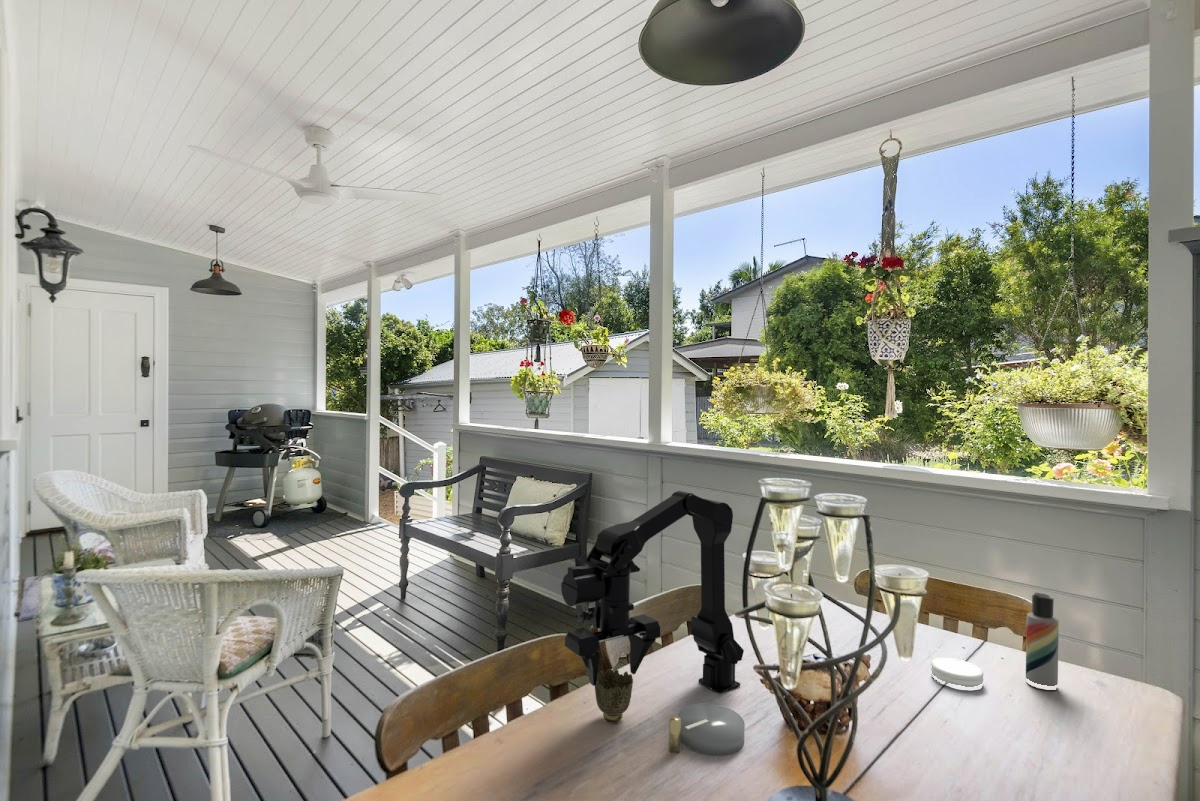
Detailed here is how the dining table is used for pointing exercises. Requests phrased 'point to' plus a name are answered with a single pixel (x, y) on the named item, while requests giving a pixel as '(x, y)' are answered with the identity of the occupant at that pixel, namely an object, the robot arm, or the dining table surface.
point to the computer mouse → (711, 729)
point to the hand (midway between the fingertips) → (613, 679)
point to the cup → (613, 694)
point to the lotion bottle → (1042, 641)
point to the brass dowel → (674, 734)
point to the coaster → (957, 672)
